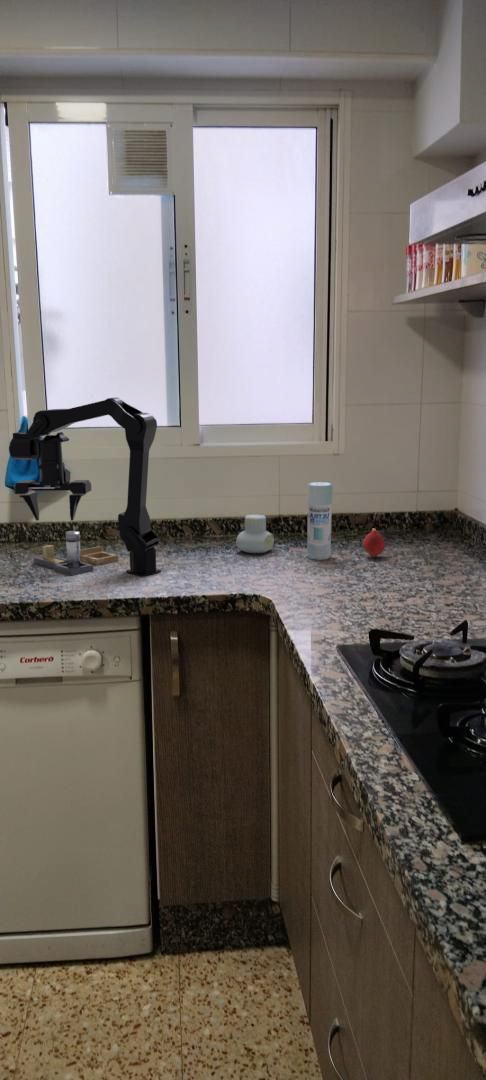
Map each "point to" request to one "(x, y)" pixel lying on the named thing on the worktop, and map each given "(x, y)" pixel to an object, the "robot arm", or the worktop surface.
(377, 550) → the onion
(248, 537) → the air freshener
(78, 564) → the salt shaker
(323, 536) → the spray paint can
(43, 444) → the robot arm
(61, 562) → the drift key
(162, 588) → the worktop surface
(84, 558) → the wooden tray
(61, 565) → the socket block
